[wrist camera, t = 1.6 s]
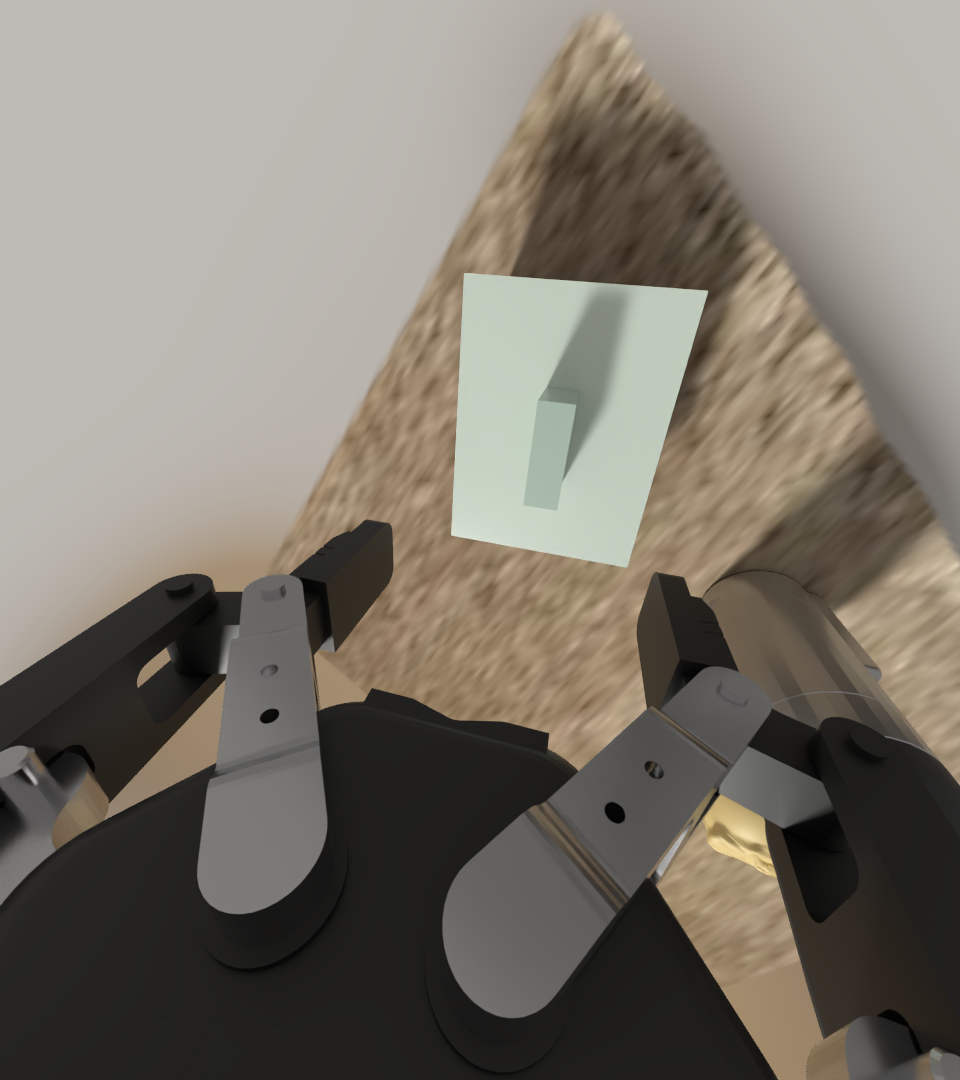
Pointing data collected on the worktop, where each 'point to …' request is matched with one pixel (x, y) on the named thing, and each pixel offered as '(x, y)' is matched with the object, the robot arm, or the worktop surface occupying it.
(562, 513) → the lid
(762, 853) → the sculpture
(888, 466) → the worktop surface
